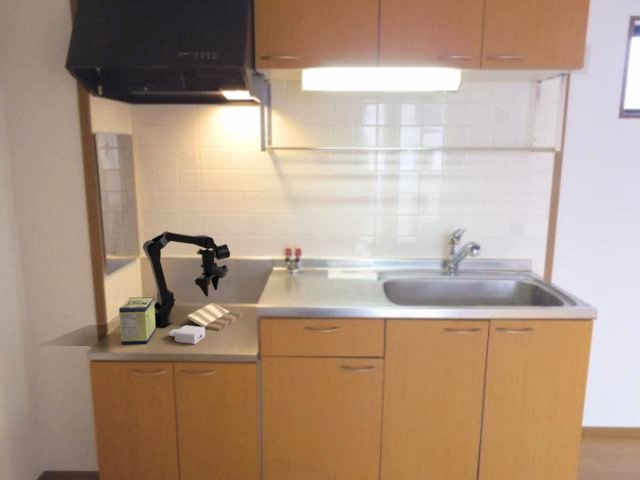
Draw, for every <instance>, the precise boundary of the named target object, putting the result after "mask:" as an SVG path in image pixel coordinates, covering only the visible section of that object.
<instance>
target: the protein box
mask: <svg viewBox="0 0 640 480" xmlns="http://www.w3.org/2000/svg"><path fill="white" fill-rule="evenodd" d="M154 304H155V298H154V296H152V297H151V296H150V297H149V296H147V297H146V296H145V297H129V298H128V299H127V300H126V301H125V302H124V303H123V304H122V305H121V306H119V308H118V311H119V312H118V313H119V326H120V327H119V329H120V342H121V345H147V344H148V343H149V341H150V340H151V338H152V337H153V335H154V334H155V332H156V327H155V309H154Z"/></svg>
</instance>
